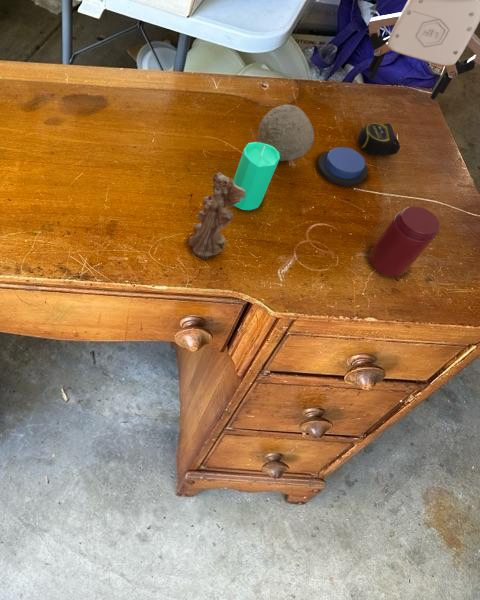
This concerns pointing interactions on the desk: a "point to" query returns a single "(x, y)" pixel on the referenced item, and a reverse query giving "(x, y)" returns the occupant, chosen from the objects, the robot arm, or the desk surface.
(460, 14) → the robot arm
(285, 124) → the decorative stone
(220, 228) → the figurine
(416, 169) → the desk surface
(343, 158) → the jam lid
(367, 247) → the desk surface
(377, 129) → the tape measure
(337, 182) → the coaster
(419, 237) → the jam jar
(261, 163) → the candle
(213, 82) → the desk surface
